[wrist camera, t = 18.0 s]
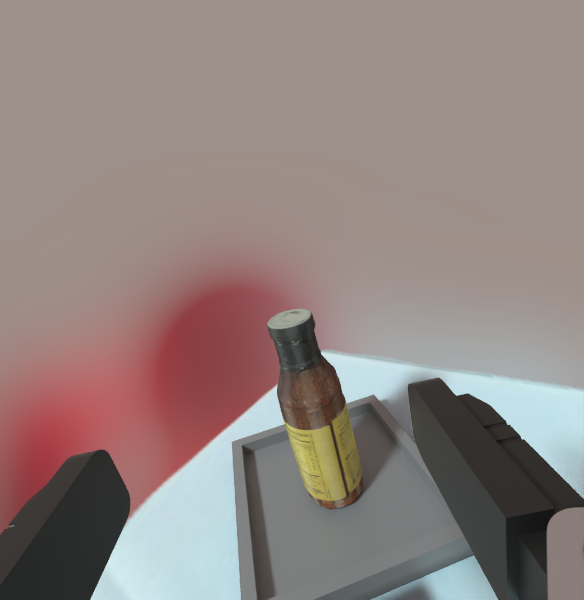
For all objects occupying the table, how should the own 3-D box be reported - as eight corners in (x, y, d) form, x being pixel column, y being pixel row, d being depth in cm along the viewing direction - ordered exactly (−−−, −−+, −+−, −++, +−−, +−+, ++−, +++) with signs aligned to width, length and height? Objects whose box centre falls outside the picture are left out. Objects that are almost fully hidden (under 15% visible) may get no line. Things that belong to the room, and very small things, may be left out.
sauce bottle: (344, 454, 38) (311, 296, 32) (377, 494, 33) (344, 311, 26) (294, 480, 36) (249, 317, 30) (319, 527, 31) (270, 338, 25)
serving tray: (376, 409, 46) (373, 394, 45) (487, 549, 27) (486, 527, 26) (237, 457, 43) (231, 441, 42) (251, 650, 24) (242, 629, 23)
